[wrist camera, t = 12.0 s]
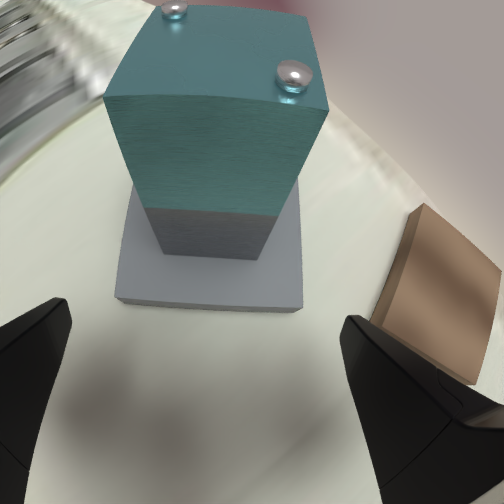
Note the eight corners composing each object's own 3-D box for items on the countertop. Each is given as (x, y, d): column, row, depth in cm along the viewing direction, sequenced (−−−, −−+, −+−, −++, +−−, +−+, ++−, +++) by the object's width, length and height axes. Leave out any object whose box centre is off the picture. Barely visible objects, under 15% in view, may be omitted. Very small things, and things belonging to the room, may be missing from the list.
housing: (257, 260, 16) (335, 98, 6) (163, 254, 16) (98, 84, 5) (258, 180, 18) (308, 7, 7) (175, 175, 17) (156, -4, 7)
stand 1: (293, 312, 18) (303, 307, 16) (124, 303, 16) (114, 297, 15) (288, 169, 21) (295, 152, 19) (148, 160, 20) (143, 142, 18)
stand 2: (457, 385, 17) (475, 385, 15) (365, 329, 18) (381, 326, 16) (486, 277, 21) (501, 271, 19) (409, 214, 21) (423, 202, 19)
